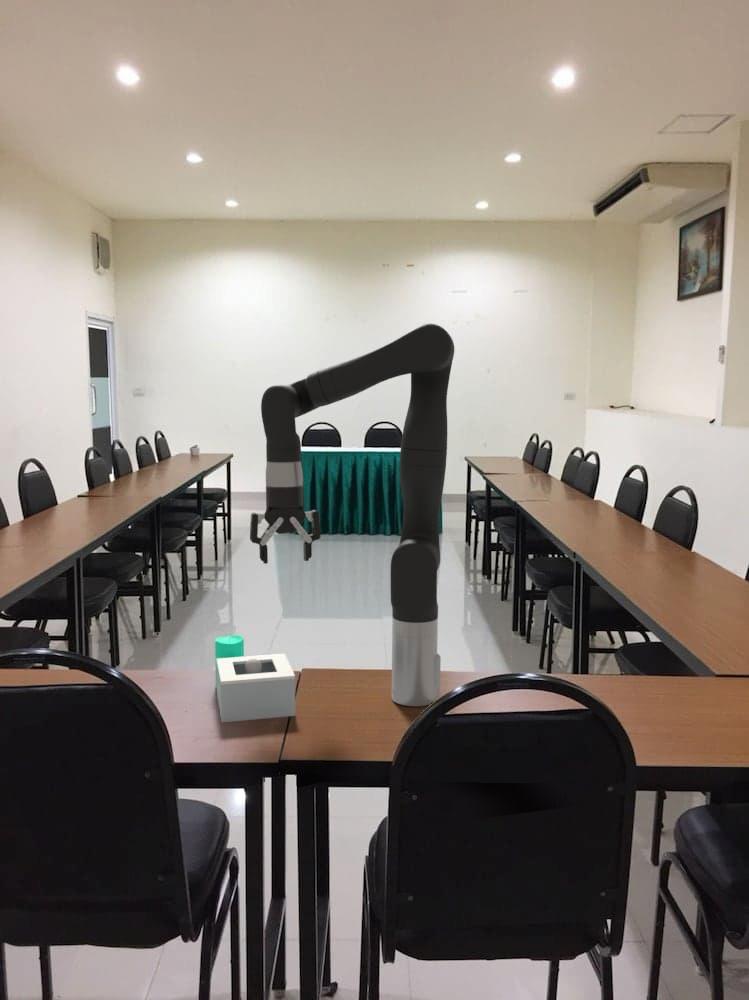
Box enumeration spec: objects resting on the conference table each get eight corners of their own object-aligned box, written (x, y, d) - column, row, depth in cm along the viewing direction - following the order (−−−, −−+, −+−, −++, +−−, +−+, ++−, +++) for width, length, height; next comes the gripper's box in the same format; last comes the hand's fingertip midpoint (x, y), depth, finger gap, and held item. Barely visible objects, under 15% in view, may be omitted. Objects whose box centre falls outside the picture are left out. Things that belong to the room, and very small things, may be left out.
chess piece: (272, 703, 154) (271, 659, 153) (249, 710, 151) (248, 665, 150) (257, 695, 158) (256, 653, 157) (234, 702, 155) (233, 658, 154)
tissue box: (284, 690, 163) (284, 653, 162) (295, 715, 150) (295, 675, 149) (217, 696, 160) (216, 658, 159) (221, 722, 146) (220, 681, 145)
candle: (245, 681, 168) (245, 627, 167) (242, 691, 162) (241, 635, 161) (218, 681, 168) (217, 627, 167) (213, 691, 162) (212, 635, 161)
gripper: (314, 481, 164) (315, 556, 166) (247, 483, 160) (249, 560, 162) (322, 484, 157) (323, 563, 159) (251, 486, 153) (253, 567, 155)
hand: (285, 561), depth 160 cm, fingers open, 8 cm apart
